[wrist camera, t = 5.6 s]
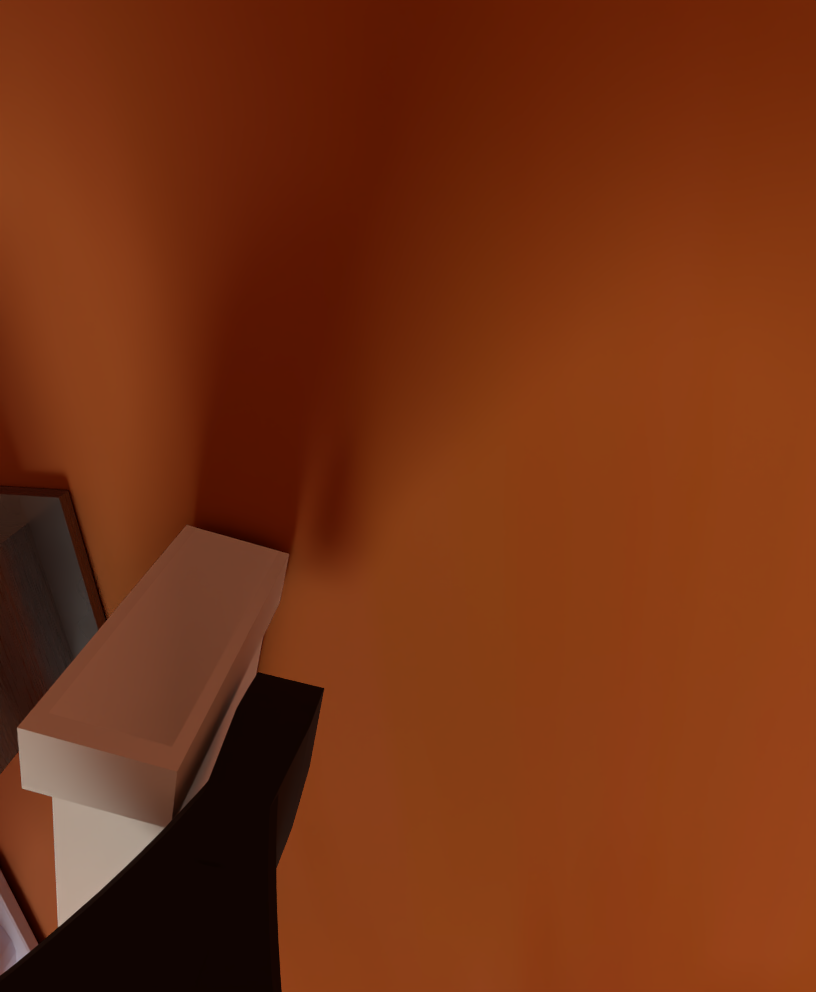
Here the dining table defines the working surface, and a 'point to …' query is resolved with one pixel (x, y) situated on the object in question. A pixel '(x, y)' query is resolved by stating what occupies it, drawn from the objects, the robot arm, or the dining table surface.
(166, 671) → the lipped cream column
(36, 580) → the latch block
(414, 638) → the dining table surface
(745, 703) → the dining table surface
